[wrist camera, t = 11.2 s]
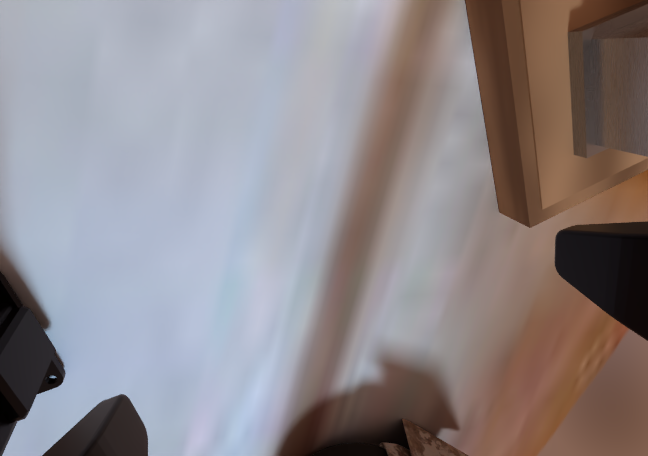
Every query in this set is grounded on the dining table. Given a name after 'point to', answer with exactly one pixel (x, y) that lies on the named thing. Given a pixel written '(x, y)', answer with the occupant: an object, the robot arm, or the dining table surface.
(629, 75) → the plate
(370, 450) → the grey brown rock
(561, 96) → the stand
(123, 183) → the dining table surface
